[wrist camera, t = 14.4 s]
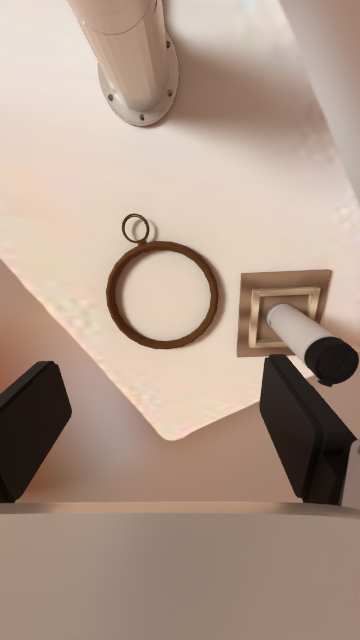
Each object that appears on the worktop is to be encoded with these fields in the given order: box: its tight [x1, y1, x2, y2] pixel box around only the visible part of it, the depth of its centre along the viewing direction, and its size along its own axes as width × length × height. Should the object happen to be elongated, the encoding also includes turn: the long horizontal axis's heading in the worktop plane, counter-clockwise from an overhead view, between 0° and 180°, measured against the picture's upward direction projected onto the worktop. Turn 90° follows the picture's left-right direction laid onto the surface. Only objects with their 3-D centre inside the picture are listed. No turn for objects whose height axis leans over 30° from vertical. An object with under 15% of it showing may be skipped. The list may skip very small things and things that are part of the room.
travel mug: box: [266, 303, 359, 387], centre depth 39 cm, size 6×7×20 cm
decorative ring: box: [106, 214, 218, 349], centre depth 46 cm, size 24×3×30 cm
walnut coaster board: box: [237, 270, 331, 357], centre depth 48 cm, size 20×18×2 cm
